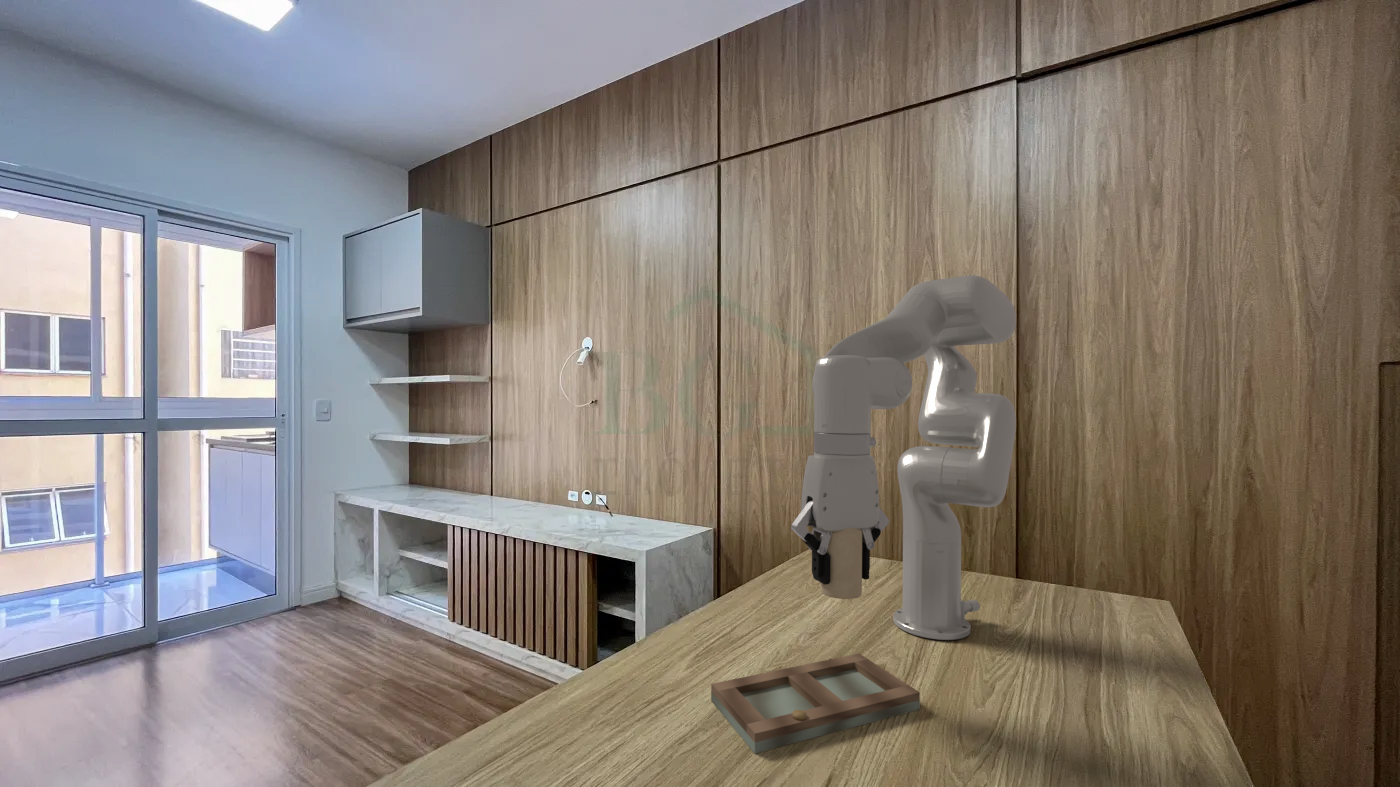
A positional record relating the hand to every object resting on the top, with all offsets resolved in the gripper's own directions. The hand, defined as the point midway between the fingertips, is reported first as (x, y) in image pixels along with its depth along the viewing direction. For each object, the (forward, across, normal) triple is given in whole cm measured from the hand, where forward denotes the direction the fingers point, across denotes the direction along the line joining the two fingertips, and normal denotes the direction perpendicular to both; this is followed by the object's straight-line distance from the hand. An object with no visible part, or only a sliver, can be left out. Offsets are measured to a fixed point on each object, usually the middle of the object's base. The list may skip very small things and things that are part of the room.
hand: (841, 577), depth 77 cm
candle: (+2, 0, 0) cm, 2 cm away
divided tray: (+15, +5, +2) cm, 16 cm away
